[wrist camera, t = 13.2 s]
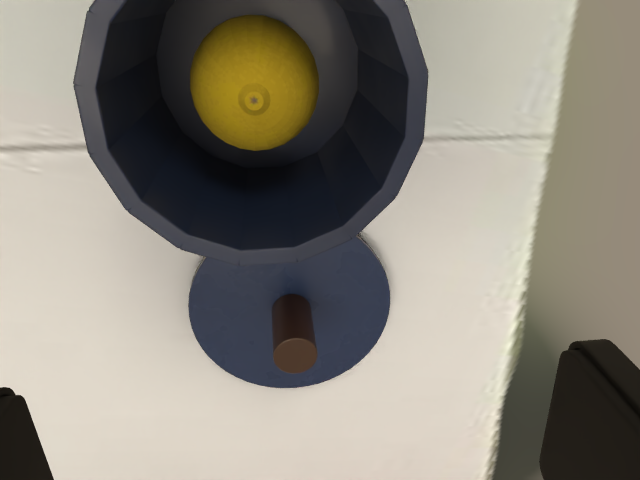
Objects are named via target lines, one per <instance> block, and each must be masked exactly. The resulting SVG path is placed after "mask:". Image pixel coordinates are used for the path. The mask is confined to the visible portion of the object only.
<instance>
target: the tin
mask: <svg viewBox="0 0 640 480" xmlns="http://www.w3.org/2000/svg"><path fill="white" fill-rule="evenodd" d="M243 15H263V16H267V17H270V18H273V19H276V20H279V21H281V22H282V23H284V24H286V25H287V26H289V27H290V28H292V29H293V30H295V31H296V33H297V34H298V35H299V36H300V37H301V38H302V39H303V40H304V41H305V42H306V44H307V46H308V47H309V49H310V51H311V53H312V55H313V57H314V59H315V63H316V66H317V70H318V74H319V94H318V99H317V103H316V108H315V110H314V112H313V114H312V116H311V118H310V120H309V122H308V124H307V125H306V126H305V127H304V128H303V129H302V131H301V132H300V133H299V134H298V135H297V136H295V137H294V138H293V139H291V140H290V141H288V142H287V143H285V144H284V145H281V146H278V147H275V148H273V149H269V150H259V151H253V150H246V149H240V148H237V147H235V146H232V145H230V144H227V143H225V142H224V141H223V140H221V139H220V138H218V137H217V136H216V135H214V134H213V133H212V132H211V131H210V129H209V128H208V127H207V126H206V125H205V124H204V123H203V121H202V120H201V118H200V116H199V114H198V112H197V110H196V108H195V106H194V103H193V99H192V95H191V91H190V69H191V66H192V62H193V58H194V54H195V52H196V51H197V49H198V47H199V45H200V44H201V42H202V40H203V38H205V37H206V36H207V35H208V34H209V33H210V32H211V31H212V30H213V29H214V28H215V27H216V26H218V25H219V24H221V23H223V22H225V21H227V20H228V19H230V18H235V17H239V16H243ZM73 84H74V90H75V95H76V99H77V104H78V108H79V113H80V118H81V122H82V127H83V131H84V136H85V141H86V145H87V150H88V153H89V155H90V157H91V159H92V160H93V162H94V163H95V165H96V166H97V168H98V169H99V171H100V172H101V174H102V175H103V177H104V178H105V180H106V181H107V183H108V184H109V186H110V187H111V189H112V190H113V192H114V193H115V195H116V196H117V198H118V199H119V201H120V202H121V204H122V205H123V207H124V208H125V210H128V212H129V213H130V214H131V215H133V216H134V217H136V218H137V219H138V220H140V221H141V222H142V223H144V224H145V225H147V226H148V227H149V228H151V229H152V230H153V231H155V232H156V233H158V234H159V235H160V236H162V237H163V238H165V239H166V240H167V241H169V242H170V243H171V244H173V245H174V246H176V247H177V248H180V249H181V250H184V251H188V252H191V253H194V254H198V255H201V256H205V257H208V258H212V259H215V260H219V261H222V262H226V263H229V264H232V265H236V266H238V265H239V266H251V265H267V264H283V263H297V262H301V261H304V260H306V259H308V258H311V257H313V256H315V255H318V254H320V253H322V252H325V251H327V250H329V249H331V248H334V247H336V246H338V245H341V244H343V243H345V242H348V241H350V240H352V238H354V237H355V236H356V235H358V234H359V233H360V232H361V231H362V230H363V229H364V228H365V227H366V226H367V225H368V224H369V223H370V222H371V221H372V220H373V219H374V218H375V217H376V216H377V215H378V214H379V213H380V212H382V211H383V210H384V209H385V208H386V207H387V206H388V205H389V204H390V203H391V202H392V201H393V200H394V199H395V198H396V196H397V195H398V193H399V191H400V189H401V186H402V184H403V182H404V180H405V178H406V176H407V174H408V172H409V170H410V168H411V165H412V163H413V161H414V159H415V157H416V155H417V153H418V151H419V149H420V147H421V144H422V142H423V139H424V128H425V114H426V100H427V87H428V69H427V66H426V63H425V60H424V57H423V53H422V50H421V47H420V44H419V41H418V38H417V35H416V31H415V28H414V25H413V22H412V19H411V16H410V13H409V10H408V6H407V5H406V2H405V1H404V0H95V1H94V2H93V3H92V5H91V6H90V8H89V11H87V14H86V19H85V24H84V30H83V35H82V40H81V45H80V50H79V55H78V61H77V66H76V71H75V76H74V81H73Z"/></svg>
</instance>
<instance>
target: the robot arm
mask: <svg viewBox="0 0 640 480" xmlns="http://www.w3.org/2000/svg"><path fill="white" fill-rule="evenodd" d="M539 462H540V469H541V473H542V476H543V479H544V480H640V370H639V369H638V367H636V366H635V364H633V363H632V361H630V360H629V358H628V357H627V356H626V355H624V353H623V352H622V351H621V350H620V349H618V347H617V346H616V345H615V344H613V343H612V342H611V341H609V340H606V339H600V340H588V341H576V342H573V343H572V344H571V345H570V346H569V349H568V350H567V351H563V352H562V354H561V356H560V359H559V364H558V370H557V374H556V380H555V384H554V390H553V394H552V399H551V404H550V409H549V414H548V419H547V424H546V429H545V434H544V439H543V444H542V449H541V454H540V461H539ZM0 480H54V479H53V476H52V473H51V471H50V468H49V465H48V462H47V459H46V457H45V454H44V451H43V448H42V446H41V443H40V440H39V437H38V434H37V432H36V429H35V426H34V423H33V421H32V418H31V415H30V412H29V409H28V407H27V404H26V401H25V399H24V398H23V397H22V396H21V395H15V393H14V391H13V390H12V389H10V388H7V387H3V388H0Z"/></svg>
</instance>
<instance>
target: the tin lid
mask: <svg viewBox="0 0 640 480" xmlns="http://www.w3.org/2000/svg"><path fill="white" fill-rule="evenodd" d="M188 307H189V318H190V322H191V326H192V329H193V332H194V334H195V337H196V339H197V341H198V342H199V344H200V346H201V347H202V349H203V350H204V351H205V353H206V354H207V355H208V356H209V357H210V358H211V359H212V360H213V361H214V362H215V363H216V364H217V365H218V366H220V367H221V368H222V369H224V370H225V371H226V372H228V373H230V374H232V375H234V376H235V377H237V378H240V379H242V380H245V381H247V382H250V383H254V384H257V385H261V386H267V387H275V388H297V387H304V386H310V385H314V384H318V383H321V382H324V381H327V380H330V379H332V378H334V377H336V376H338V375H340V374H342V373H344V372H345V371H347V370H349V369H350V368H352V367H353V366H354V365H356V364H357V363H358V362H360V361H361V360H362V359H363V358H364V357H365V356H366V355H367V354H368V353H369V352H370V350H371V349H372V348H373V347H374V345H375V344H376V342H377V341H378V339H379V338H380V336H381V334H382V332H383V329H384V327H385V325H386V322H387V318H388V314H389V308H390V290H389V284H388V280H387V277H386V274H385V271H384V269H383V266H382V265H381V263H380V261H379V259H378V257H377V256H376V254H375V253H374V252H373V250H372V249H371V248H370V247H369V246H368V245H367V244H366V243H365V242H364V240H363V239H361V238H360V237H359V236H357V235H356V236H355V237H354V238H352V240H350V241H348V242H345V243H343V244H341V245H338V246H336V247H334V248H331V249H329V250H327V251H325V252H322V253H320V254H318V255H315V256H313V257H311V258H308V259H306V260H304V261H301V262H297V263H283V264H267V265H251V266H239V265H238V266H236V265H232V264H229V263H226V262H222V261H219V260H215V259H212V258H208V257H204V258H203V260H202V262H201V263H200V265H199V267H198V268H197V271H196V273H195V276H194V278H193V281H192V285H191V289H190V293H189V304H188Z"/></svg>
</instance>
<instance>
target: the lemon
mask: <svg viewBox="0 0 640 480" xmlns="http://www.w3.org/2000/svg"><path fill="white" fill-rule="evenodd" d="M190 91H191V95H192V99H193V103H194V106H195V108H196V110H197V112H198V114H199V116H200V118H201V120H202V121H203V123H204V124H205V125H206V126H207V127H208V128H209V129H210V131H211V132H212V133H213V134H214V135H216V136H217V137H218V138H220V139H221V140H223V141H224V142H225V143H227V144H230V145H232V146H235V147H237V148H240V149H246V150H253V151H259V150H269V149H273V148H275V147H278V146H281V145H284V144H285V143H287V142H288V141H290V140H291V139H293V138H294V137H295V136H297V135H298V134H299V133H300V132H301V131H302V129H303V128H304V127H305V126H306V125H307V124H308V122H309V120H310V118H311V116H312V114H313V112H314V110H315V108H316V103H317V99H318V94H319V74H318V70H317V66H316V63H315V59H314V57H313V55H312V53H311V51H310V49H309V47H308V46H307V44H306V42H305V41H304V40H303V39H302V38H301V37H300V36H299V35H298V34H297V33H296V31H295V30H293V29H292V28H290V27H289V26H287V25H286V24H284V23H282V22H281V21H279V20H276V19H273V18H270V17H267V16H263V15H243V16H239V17H235V18H230V19H228V20H227V21H225V22H223V23H221V24H219V25H218V26H216V27H215V28H214V29H213V30H212V31H211V32H210V33H209V34H208V35H207V36H206V37H205V38H203V40H202V42H201V44H200V45H199V47H198V49H197V51H196V52H195V54H194V58H193V62H192V66H191V69H190Z"/></svg>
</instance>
